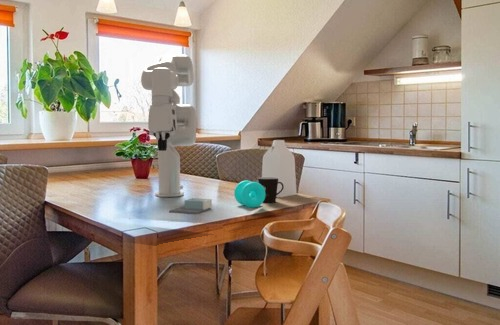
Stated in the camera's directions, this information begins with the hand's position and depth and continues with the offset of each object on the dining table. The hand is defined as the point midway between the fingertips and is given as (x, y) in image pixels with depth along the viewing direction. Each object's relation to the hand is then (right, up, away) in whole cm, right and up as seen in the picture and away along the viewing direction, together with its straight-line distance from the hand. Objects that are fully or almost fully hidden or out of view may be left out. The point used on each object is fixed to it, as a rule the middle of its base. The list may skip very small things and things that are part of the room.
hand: (162, 150), depth 178 cm
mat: (+11, -22, -4) cm, 25 cm away
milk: (+46, -20, +41) cm, 65 cm away
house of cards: (+35, -21, +44) cm, 59 cm away
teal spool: (+33, -22, +8) cm, 40 cm away
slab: (+10, -20, +1) cm, 22 cm away
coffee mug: (+41, -21, +20) cm, 50 cm away
